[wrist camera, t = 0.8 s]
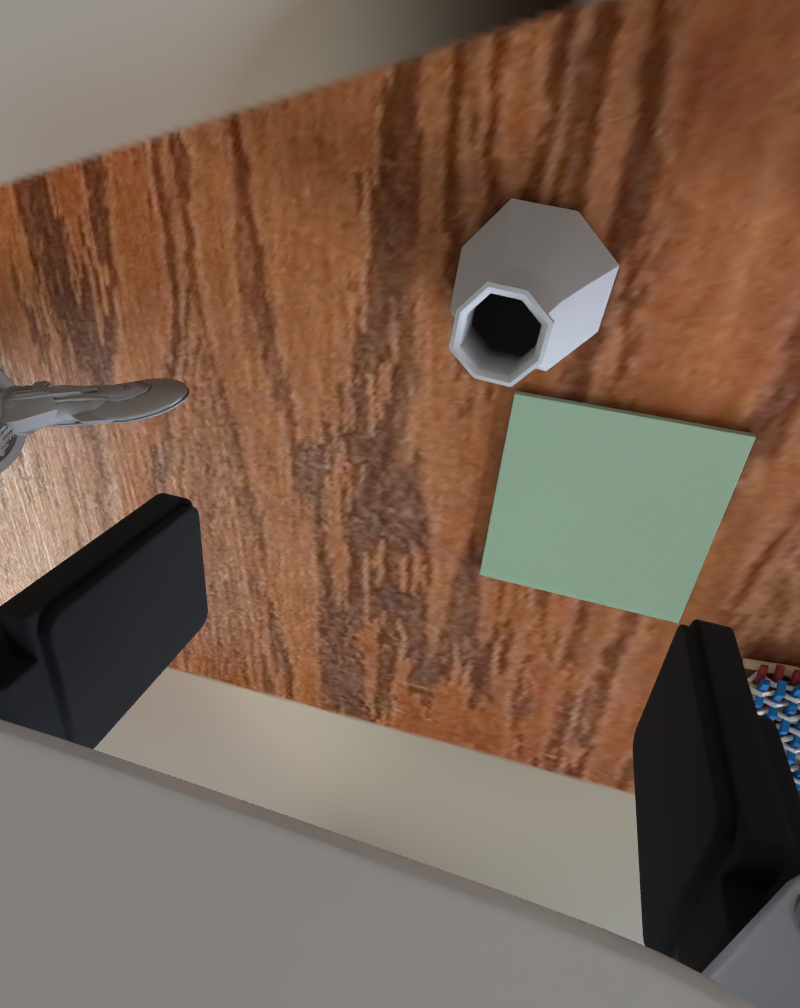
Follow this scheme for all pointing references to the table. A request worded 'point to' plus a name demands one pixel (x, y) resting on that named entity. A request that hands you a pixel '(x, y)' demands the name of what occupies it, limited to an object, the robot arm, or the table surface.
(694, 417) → the table surface
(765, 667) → the woven mat
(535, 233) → the flask
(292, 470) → the table surface
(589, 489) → the coaster
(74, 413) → the spaceship
